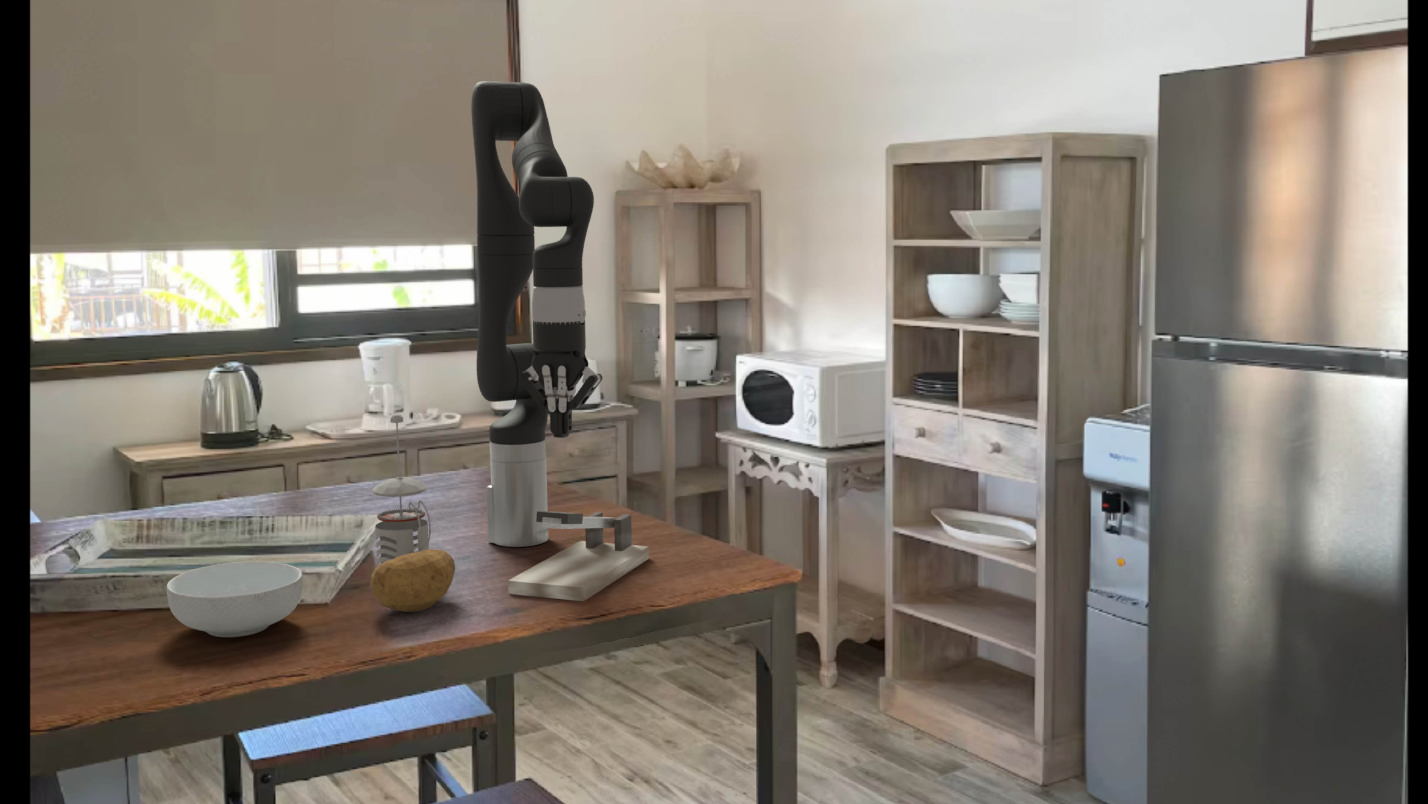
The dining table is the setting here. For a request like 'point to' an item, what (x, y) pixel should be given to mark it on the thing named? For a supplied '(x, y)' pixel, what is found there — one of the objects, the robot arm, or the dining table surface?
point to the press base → (583, 565)
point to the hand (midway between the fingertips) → (561, 436)
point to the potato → (413, 580)
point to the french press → (401, 516)
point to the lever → (572, 520)
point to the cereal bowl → (235, 596)
